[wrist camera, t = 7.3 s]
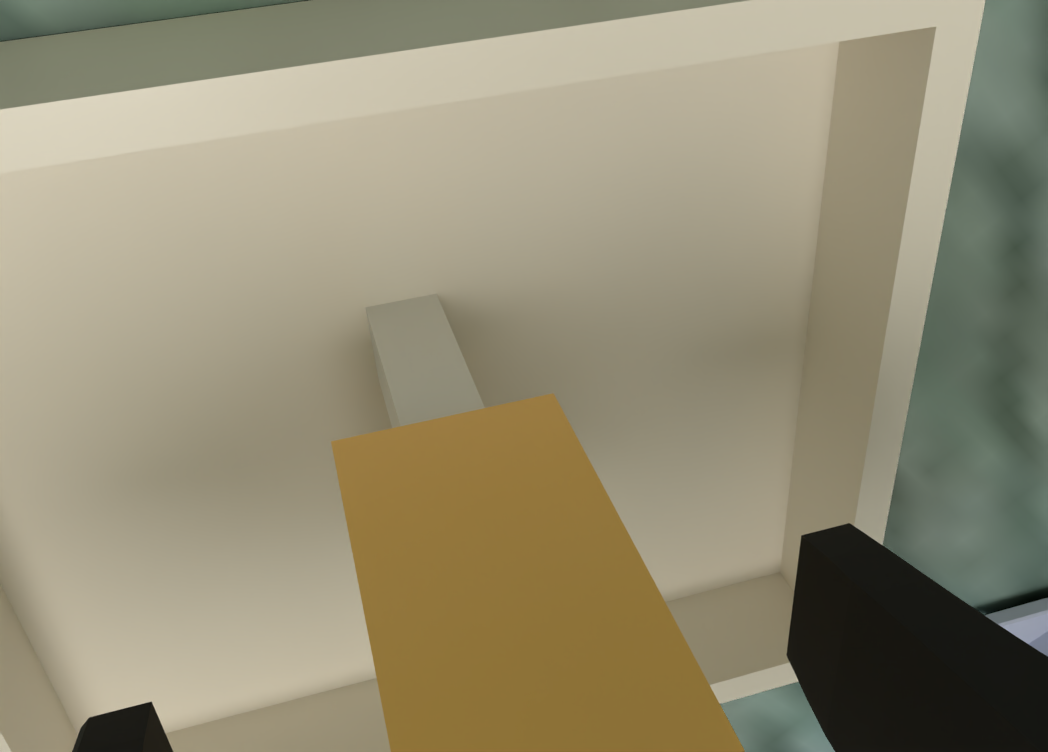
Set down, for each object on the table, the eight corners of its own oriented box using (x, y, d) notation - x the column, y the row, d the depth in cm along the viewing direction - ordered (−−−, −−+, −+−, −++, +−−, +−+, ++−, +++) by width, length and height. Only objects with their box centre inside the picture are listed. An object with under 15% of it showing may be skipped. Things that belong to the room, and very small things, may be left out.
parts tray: (867, -74, 13) (992, -35, 11) (790, 565, 20) (859, 663, 18) (-295, 81, 11) (-410, 169, 9) (65, 755, 18) (48, 895, 16)
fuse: (491, 277, 14) (757, 772, 7) (513, 510, 17) (727, 1037, 10) (305, 312, 14) (415, 875, 7) (357, 547, 16) (473, 1125, 10)
